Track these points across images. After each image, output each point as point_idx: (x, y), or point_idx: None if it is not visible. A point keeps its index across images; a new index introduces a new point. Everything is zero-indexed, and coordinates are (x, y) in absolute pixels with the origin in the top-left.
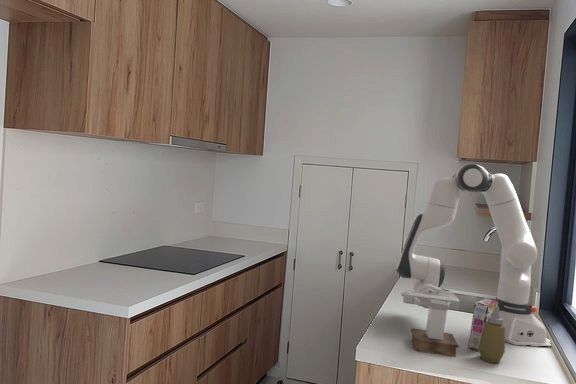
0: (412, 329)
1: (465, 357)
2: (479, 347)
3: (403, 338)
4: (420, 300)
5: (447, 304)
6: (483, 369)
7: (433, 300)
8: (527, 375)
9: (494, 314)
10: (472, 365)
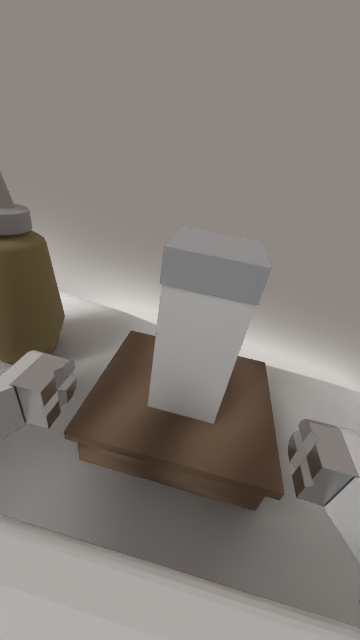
0: (277, 469)
1: (100, 359)
2: (59, 324)
3: (296, 529)
4: (340, 457)
5: (37, 363)
6: (105, 313)
7: (247, 255)
8: None
9: (8, 191)
10: (118, 326)
